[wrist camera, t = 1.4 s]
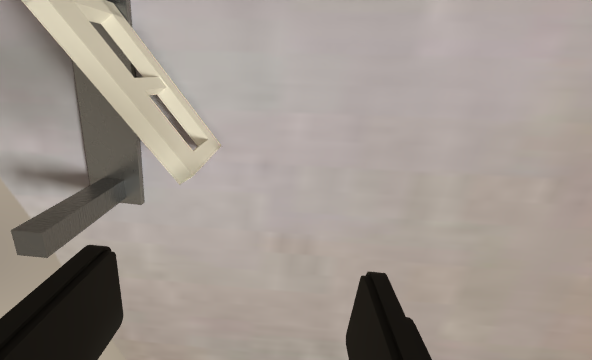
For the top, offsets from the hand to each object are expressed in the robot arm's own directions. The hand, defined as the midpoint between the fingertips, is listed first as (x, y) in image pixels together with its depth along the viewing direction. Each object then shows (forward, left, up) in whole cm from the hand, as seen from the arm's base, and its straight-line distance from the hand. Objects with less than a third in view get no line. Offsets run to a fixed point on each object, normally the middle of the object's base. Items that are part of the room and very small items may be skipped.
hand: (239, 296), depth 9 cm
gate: (-4, -12, -25) cm, 28 cm away
